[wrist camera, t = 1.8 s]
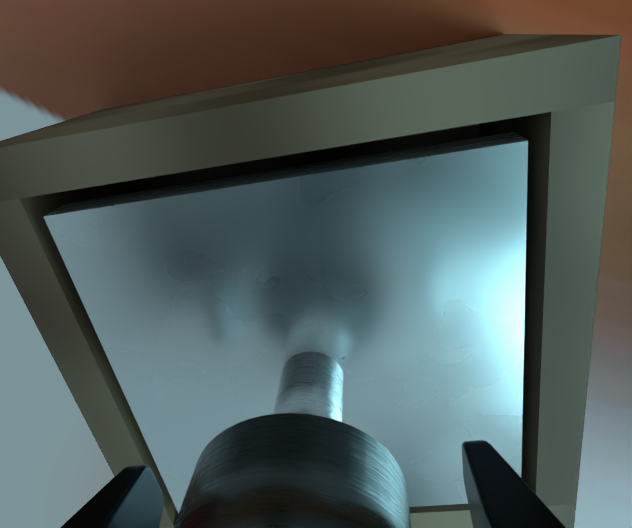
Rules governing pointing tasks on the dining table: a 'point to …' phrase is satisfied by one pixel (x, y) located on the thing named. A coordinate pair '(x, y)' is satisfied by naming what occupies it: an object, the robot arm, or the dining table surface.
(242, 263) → the plunger
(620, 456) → the dining table surface
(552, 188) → the frame
